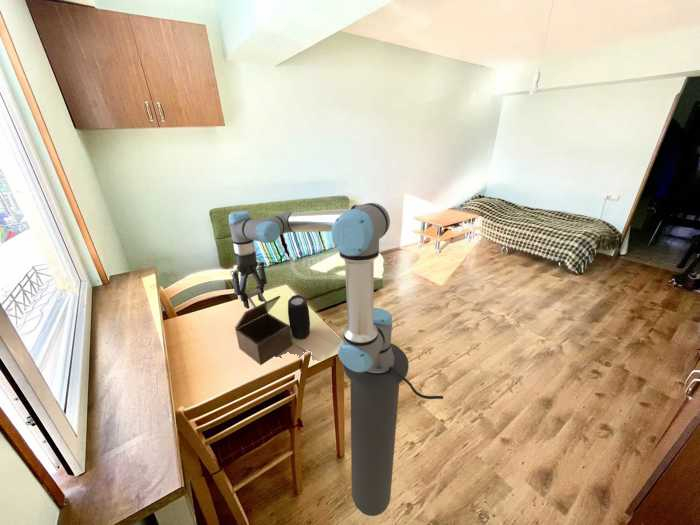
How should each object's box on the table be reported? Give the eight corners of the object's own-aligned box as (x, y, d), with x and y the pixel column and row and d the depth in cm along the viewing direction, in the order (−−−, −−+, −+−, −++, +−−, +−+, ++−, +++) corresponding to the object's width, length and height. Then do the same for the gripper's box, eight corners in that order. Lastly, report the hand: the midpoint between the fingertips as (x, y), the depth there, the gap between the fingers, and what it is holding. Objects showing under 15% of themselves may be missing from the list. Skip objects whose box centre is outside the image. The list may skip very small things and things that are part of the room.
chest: (292, 344, 122) (290, 325, 118) (260, 365, 111) (257, 345, 107) (270, 330, 131) (267, 312, 127) (239, 348, 120) (235, 329, 116)
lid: (280, 297, 116) (270, 281, 117) (246, 313, 104) (235, 296, 106) (267, 312, 127) (259, 298, 128) (235, 329, 116) (226, 313, 117)
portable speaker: (295, 327, 133) (291, 292, 124) (313, 330, 131) (311, 295, 122) (287, 339, 125) (282, 304, 116) (307, 342, 123) (303, 307, 114)
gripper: (260, 243, 115) (268, 292, 124) (216, 257, 102) (227, 310, 111) (271, 247, 111) (278, 297, 120) (226, 261, 97) (237, 317, 106)
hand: (254, 303), depth 115 cm, fingers closed on lid, 6 cm apart
